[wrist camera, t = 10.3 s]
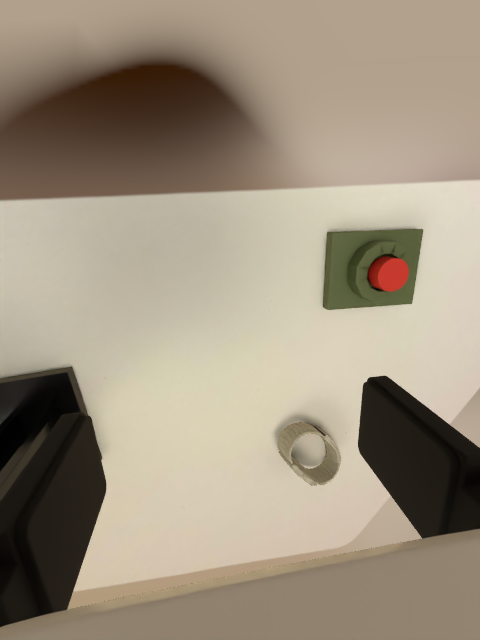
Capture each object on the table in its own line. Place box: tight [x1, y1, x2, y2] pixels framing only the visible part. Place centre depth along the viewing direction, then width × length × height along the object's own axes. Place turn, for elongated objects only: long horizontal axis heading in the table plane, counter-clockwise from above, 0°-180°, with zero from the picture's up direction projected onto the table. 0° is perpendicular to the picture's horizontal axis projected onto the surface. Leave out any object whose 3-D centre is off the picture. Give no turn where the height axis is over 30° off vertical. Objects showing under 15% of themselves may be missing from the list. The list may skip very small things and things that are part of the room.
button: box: [368, 256, 409, 292], centre depth 29 cm, size 3×3×2 cm
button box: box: [323, 229, 423, 310], centre depth 31 cm, size 10×8×3 cm
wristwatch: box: [278, 422, 341, 486], centre depth 36 cm, size 9×6×5 cm
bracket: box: [0, 367, 102, 501], centre depth 26 cm, size 12×9×13 cm
